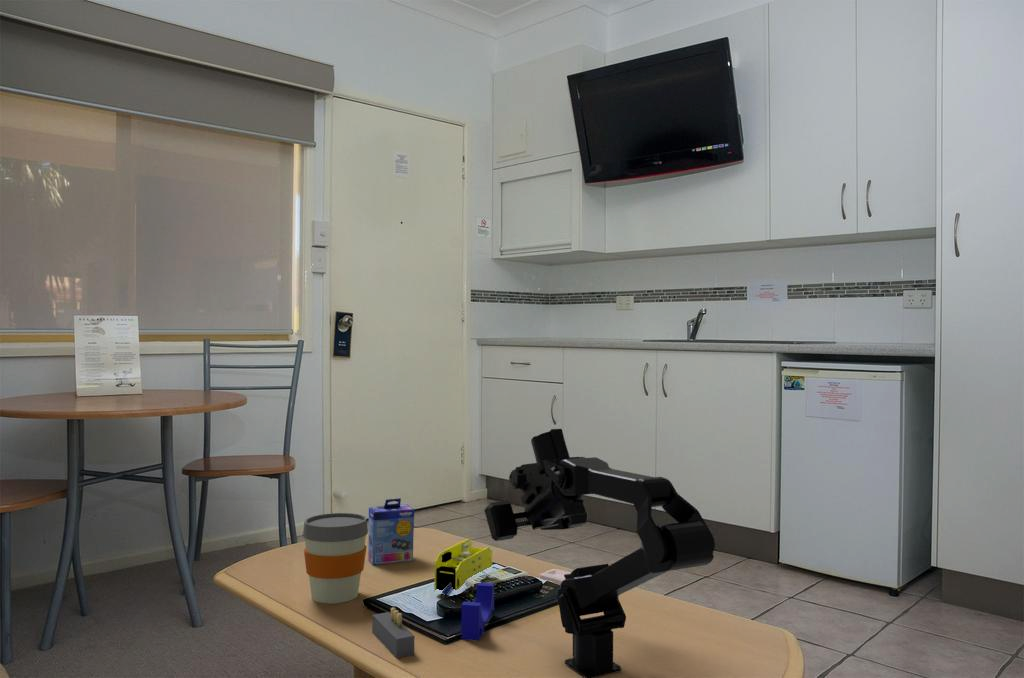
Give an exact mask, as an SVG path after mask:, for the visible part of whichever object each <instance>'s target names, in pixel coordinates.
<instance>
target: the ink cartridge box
mask: <svg viewBox="0 0 1024 678" xmlns="http://www.w3.org/2000/svg"><path fill="white" fill-rule="evenodd" d="M401 500H402V498H398V497H397V498H389V499H385V500H384V501H385V503H384V505H381V506H379V505H378V506H372V507H371V506H370V507H368V538H367V539H368V542H367V545H368V546H367V547H368V548H367V551H368V552H367V559H368V561H369V562H370V563H371V566H376V565H387V564H394V563H406V562H412V561H414V536H415V535H414V530H415V526H414V525H415V509H414V507H412V506H411V505H410V504H401ZM391 502H395V503H391Z"/></svg>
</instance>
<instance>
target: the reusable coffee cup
mask: <svg viewBox="0 0 1024 678" xmlns="http://www.w3.org/2000/svg"><path fill="white" fill-rule="evenodd" d="M367 518H368V517H366V516H364V515H362V514H359V513H352V512H333V513H332V512H331V513H322V514H316V515H312V516H310V517H309V516H308V518H306V519H304V523H303V530H302V537H303V538H304V542H305V543H304V545H305V548H304V550H303V554H304V556H303V557H304V563H305V569H306V570H305V571H306V575H308V577H309V579H308V580H309V586H310V593H311V599H312V600H313V601H314V602H316V603H320V604H342V603H346V602H350V601H353V600H354V599H356V598H358V596H359V589H360V582H361V574H362V572H363V571H364V568H365V561H366V554H367V553H366V552H367V546H366V537H367V535H369V527H368V519H367Z"/></svg>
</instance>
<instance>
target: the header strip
mask: <svg viewBox="0 0 1024 678" xmlns="http://www.w3.org/2000/svg"><path fill="white" fill-rule="evenodd" d="M371 620H372V627H371V628H372V629H371V633H372V634H373V635H374V636H375V637H376V638H377V640H379V641H380V643H382V644H383V645H384V646H385V648H386V649H387V650H389V652H390V653H391V654H392V655H393V656H394V657H395V658H396V659H398V658H404V657H408V656H414V655H415V634H413V632H411V631H410V629H408V628H407V627H406V626H405V625H403V623H402V622H403V613H401V612H399V610H397V608H396V607H391V608H390V612H389V611H388V612H387V611H386V612H381V613H375V614H372V617H371Z"/></svg>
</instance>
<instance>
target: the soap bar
mask: <svg viewBox="0 0 1024 678" xmlns="http://www.w3.org/2000/svg"><path fill="white" fill-rule="evenodd" d="M565 574H571V572H570V571H567V570H562V569H557V568H552V569H550V570H547V571H544V572H541V573H540V574H539V580H540V579H543V580H549V581H552V582H554V583H556V584H559V585H561V583H562V581H563V580H565V577H564V575H565Z"/></svg>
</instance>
